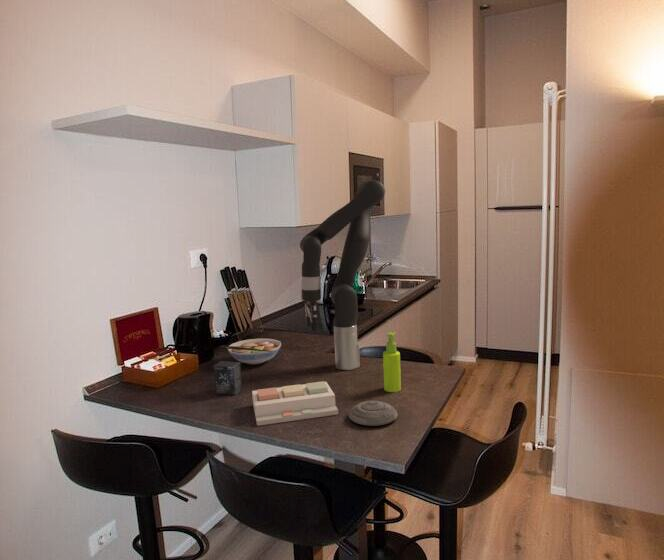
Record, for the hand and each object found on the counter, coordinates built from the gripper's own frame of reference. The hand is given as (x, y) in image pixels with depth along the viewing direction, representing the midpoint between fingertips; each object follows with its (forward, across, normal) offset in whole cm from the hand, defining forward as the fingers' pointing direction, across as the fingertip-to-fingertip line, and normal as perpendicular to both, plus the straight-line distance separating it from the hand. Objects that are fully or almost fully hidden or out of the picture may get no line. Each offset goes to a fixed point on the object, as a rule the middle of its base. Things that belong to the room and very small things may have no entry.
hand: (311, 328), depth 195 cm
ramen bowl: (+18, +21, +20) cm, 34 cm away
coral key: (+15, -33, +21) cm, 42 cm away
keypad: (+18, -35, +13) cm, 41 cm away
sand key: (+14, -33, +13) cm, 38 cm away
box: (+19, -11, +33) cm, 39 cm away
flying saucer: (+17, -50, -8) cm, 53 cm away
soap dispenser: (+17, -29, -23) cm, 40 cm away
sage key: (+14, -33, +5) cm, 36 cm away
